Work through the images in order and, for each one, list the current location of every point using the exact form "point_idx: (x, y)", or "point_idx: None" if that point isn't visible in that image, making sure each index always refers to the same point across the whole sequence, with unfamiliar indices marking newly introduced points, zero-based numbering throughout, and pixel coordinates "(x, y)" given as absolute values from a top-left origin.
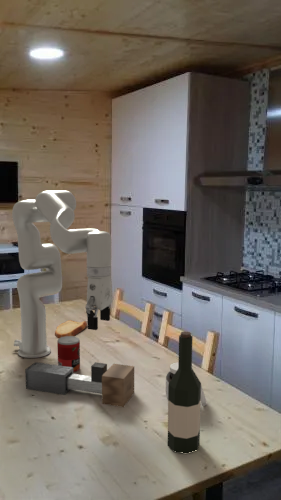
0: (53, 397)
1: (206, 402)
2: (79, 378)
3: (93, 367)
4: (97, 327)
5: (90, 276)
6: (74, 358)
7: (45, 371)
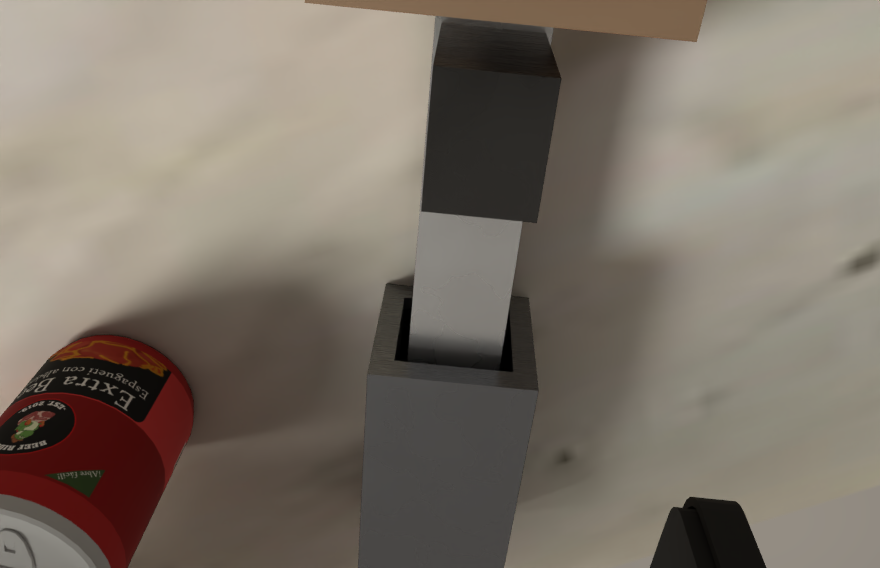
0: (577, 349)
1: None
2: (489, 268)
3: (539, 191)
4: (726, 537)
5: None
6: (116, 416)
7: (497, 519)
